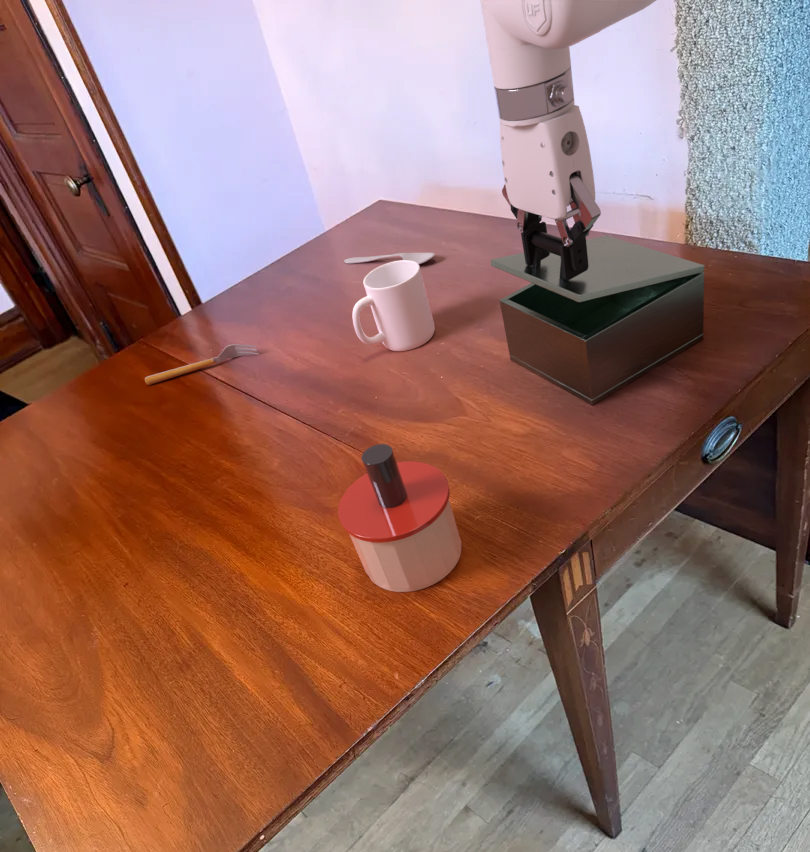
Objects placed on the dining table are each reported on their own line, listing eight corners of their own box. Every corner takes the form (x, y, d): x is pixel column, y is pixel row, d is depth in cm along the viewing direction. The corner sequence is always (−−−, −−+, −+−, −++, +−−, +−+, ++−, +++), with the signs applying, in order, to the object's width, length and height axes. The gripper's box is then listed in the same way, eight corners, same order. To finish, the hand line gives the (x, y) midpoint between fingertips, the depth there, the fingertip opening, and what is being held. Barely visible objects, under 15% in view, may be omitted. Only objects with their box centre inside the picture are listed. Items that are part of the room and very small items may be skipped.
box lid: (579, 302, 80) (583, 256, 77) (490, 265, 91) (491, 224, 89) (703, 272, 86) (712, 228, 84) (606, 241, 98) (611, 202, 96)
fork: (141, 381, 122) (254, 344, 119) (141, 373, 123) (254, 336, 120) (149, 391, 124) (261, 356, 121) (150, 383, 125) (261, 348, 122)
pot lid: (460, 466, 76) (445, 413, 71) (439, 546, 68) (421, 491, 64) (358, 472, 79) (338, 422, 75) (328, 548, 72) (304, 497, 67)
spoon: (429, 269, 128) (427, 260, 126) (338, 266, 139) (335, 258, 138) (442, 257, 130) (440, 248, 129) (351, 255, 141) (348, 247, 140)
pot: (469, 518, 80) (454, 465, 75) (451, 592, 73) (434, 538, 68) (379, 521, 84) (359, 470, 79) (354, 592, 77) (331, 541, 72)
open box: (592, 405, 89) (585, 340, 83) (510, 359, 100) (499, 300, 95) (703, 339, 92) (704, 272, 87) (611, 302, 104) (607, 241, 98)
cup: (446, 332, 110) (430, 267, 104) (379, 370, 108) (358, 306, 101) (417, 317, 116) (400, 255, 109) (352, 353, 113) (331, 291, 107)
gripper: (624, 87, 69) (634, 271, 81) (513, 77, 81) (536, 238, 93) (560, 119, 67) (580, 301, 79) (456, 104, 80) (487, 264, 91)
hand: (556, 266), depth 86 cm, fingers closed on box lid, 6 cm apart
